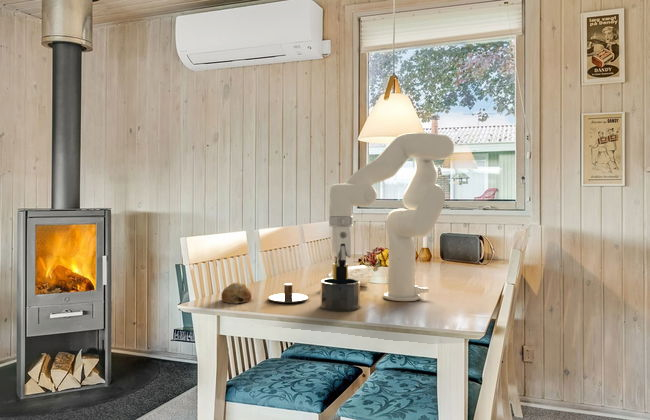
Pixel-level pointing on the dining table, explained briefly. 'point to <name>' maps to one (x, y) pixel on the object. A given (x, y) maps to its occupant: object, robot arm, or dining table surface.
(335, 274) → the butter carton
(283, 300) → the pan lid
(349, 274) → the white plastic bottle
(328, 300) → the pan
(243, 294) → the brown rounded lump
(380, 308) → the dining table surface
